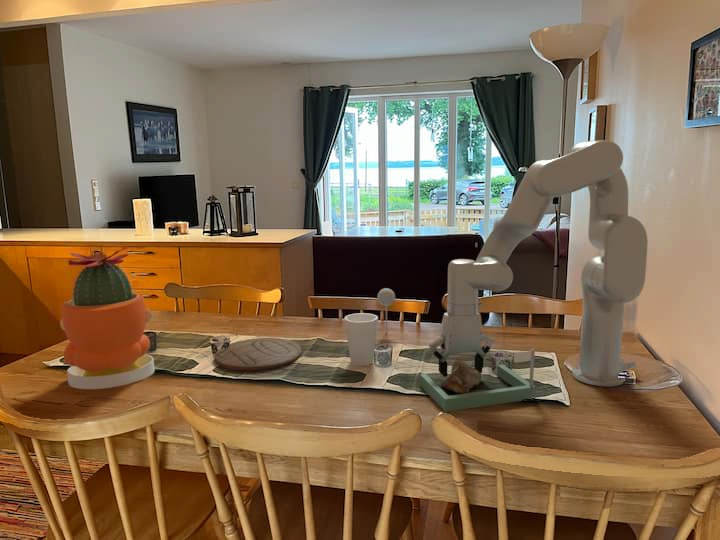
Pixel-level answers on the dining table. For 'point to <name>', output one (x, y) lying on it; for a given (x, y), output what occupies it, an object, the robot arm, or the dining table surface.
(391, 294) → the lollipop
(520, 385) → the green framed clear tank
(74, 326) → the potted cactus
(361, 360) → the foam cup
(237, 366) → the trivet
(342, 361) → the dining table surface
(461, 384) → the decorative stone
